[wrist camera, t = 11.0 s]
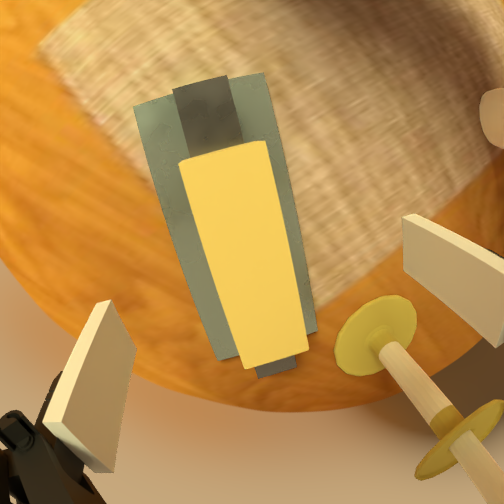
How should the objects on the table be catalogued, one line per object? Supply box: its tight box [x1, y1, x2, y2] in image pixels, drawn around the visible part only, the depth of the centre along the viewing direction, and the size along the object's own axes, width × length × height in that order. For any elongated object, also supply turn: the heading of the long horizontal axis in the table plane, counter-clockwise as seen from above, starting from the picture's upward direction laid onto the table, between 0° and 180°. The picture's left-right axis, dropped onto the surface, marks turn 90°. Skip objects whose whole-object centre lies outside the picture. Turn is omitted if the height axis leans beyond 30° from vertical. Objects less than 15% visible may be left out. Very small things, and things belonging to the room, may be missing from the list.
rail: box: [133, 73, 318, 379], centre depth 20 cm, size 21×9×5 cm, turn 14°
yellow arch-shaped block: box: [178, 141, 309, 369], centre depth 18 cm, size 12×4×6 cm, turn 14°
